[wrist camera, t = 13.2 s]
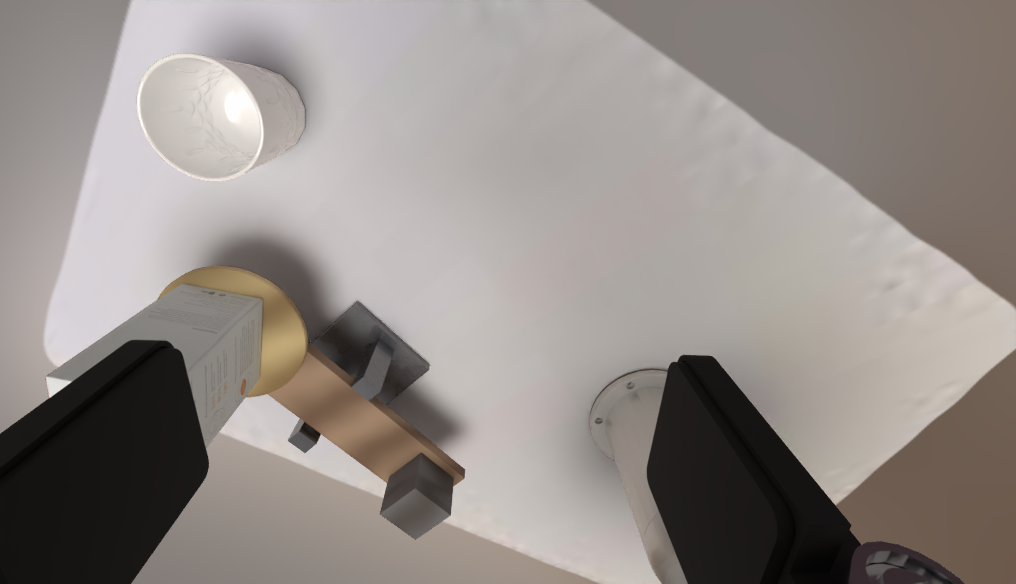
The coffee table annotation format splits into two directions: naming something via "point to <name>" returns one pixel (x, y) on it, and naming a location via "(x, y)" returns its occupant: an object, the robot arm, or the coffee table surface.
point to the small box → (191, 348)
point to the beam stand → (364, 362)
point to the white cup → (217, 115)
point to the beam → (340, 406)
